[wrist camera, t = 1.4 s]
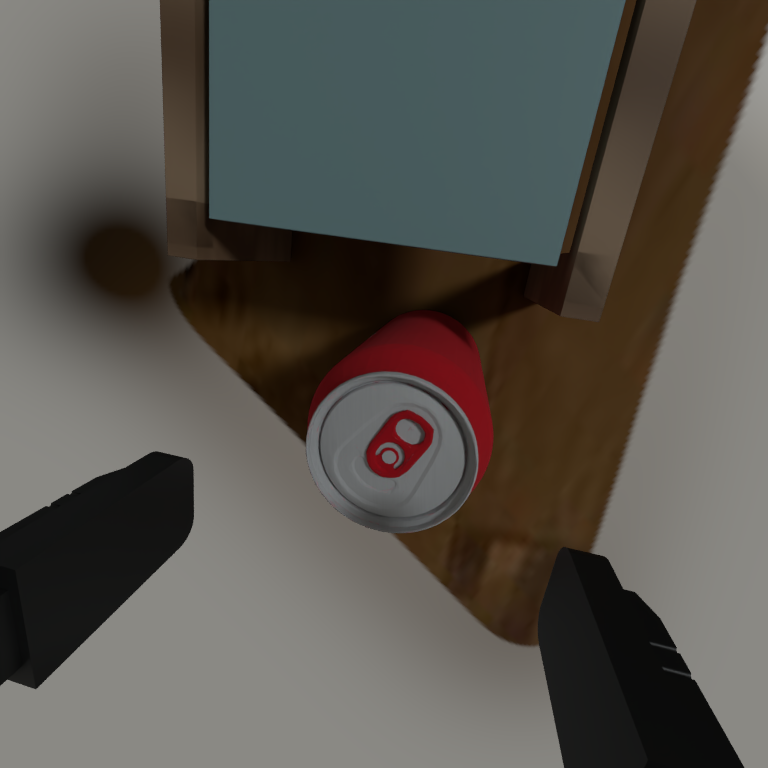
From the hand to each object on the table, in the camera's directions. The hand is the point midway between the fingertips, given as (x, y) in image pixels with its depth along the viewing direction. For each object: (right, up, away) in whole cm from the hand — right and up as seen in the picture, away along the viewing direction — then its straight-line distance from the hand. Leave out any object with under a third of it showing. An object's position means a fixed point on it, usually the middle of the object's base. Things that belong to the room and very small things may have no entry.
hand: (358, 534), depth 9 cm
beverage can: (+3, +4, +15) cm, 16 cm away
